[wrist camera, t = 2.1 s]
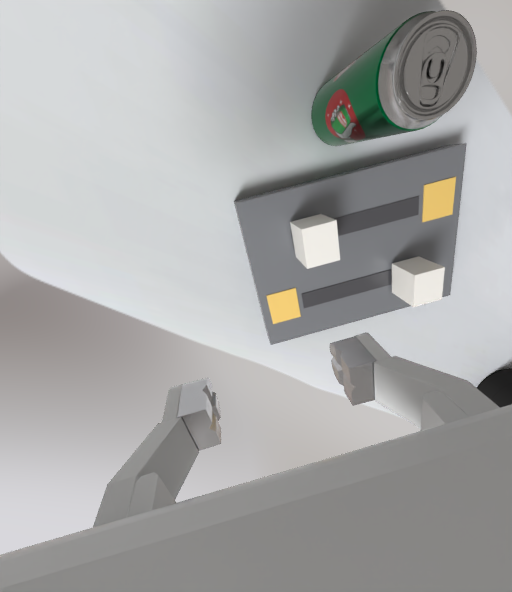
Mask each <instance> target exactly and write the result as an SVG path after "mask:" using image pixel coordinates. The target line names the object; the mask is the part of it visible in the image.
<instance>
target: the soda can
mask: <svg viewBox="0 0 512 592" xmlns="http://www.w3.org/2000/svg"><path fill="white" fill-rule="evenodd" d="M476 52H477V51H476V40H475V35H474V32H473V30H472V27H471V26H470V24H469V22H468V21H467V20H466V19H465V18H464V17H463V16H462V15H461V14H458V13H456V12H454V11H449V10H446V11H438V12H435V11H430V12H423V13H419V14H417V15H415V16H413V17H411V18H409V19H408V20H406V21H405V22H404V23H402V24H401V25H400V26H399V27H397V28H396V29H395V30H393V31H392V32H391V33H390V34H388V35H387V36H386V37H384V38H383V39H382V40H381V41H379V42H378V43H377V44H375V45H374V46H373V47H372V48H370V49H369V50H368V51H366V52H365V53H364V54H363V55H361V56H360V57H359V58H357V59H356V60H355V61H354V62H352V63H351V64H350V65H349V66H347V67H346V68H345V69H343V70H342V71H341V72H340V73H338V74H337V75H336V76H334V77H333V78H332V79H331V80H329V81H328V82H327V83H325V84H324V85H323V86H322V88H321V89H320V90H319V91H318V93H317V95H316V97H315V100H314V102H313V106H312V124H313V128H314V130H315V133H316V134H317V136H318V137H319V138H320V139H321V140H322V141H323V142H324V143H326V144H328V145H332V146H341V145H346V144H351V143H356V142H361V141H366V140H371V139H376V138H381V137H386V136H391V135H396V134H401V133H406V132H411V131H416V130H420V129H423V128H425V127H427V126H429V125H431V124H432V123H434V122H435V121H437V120H438V119H439V118H440V117H441V116H442V115H443V114H445V113H446V112H448V111H449V110H450V109H451V108H452V107H453V106H454V105H455V104H456V103H457V102H458V101H459V100H460V98H461V97H462V96H463V94H464V92H465V91H466V89H467V87H468V85H469V83H470V81H471V78H472V75H473V72H474V68H475V63H476V54H477V53H476Z"/></svg>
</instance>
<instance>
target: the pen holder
mask: <svg viewBox="0 0 512 592" xmlns="http://www.w3.org/2000/svg"><path fill="white" fill-rule="evenodd" d="M477 389H478V390H479V391H481V392H482V393H483V394H484V395H485V396H487V397H488V398H489V399H490V400H491V401H493V402H494V403H495V404H496V405H497V406H499V407H500V408H501V407H505V406H508V405H511V404H512V369H504V370H500V371H498V372H495V373H493V374H492V375H490V376H489V377H487V378H486V379H485V380H484V381H483V382H482V383H481V384H480V385H479V386H478V387H477Z"/></svg>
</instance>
